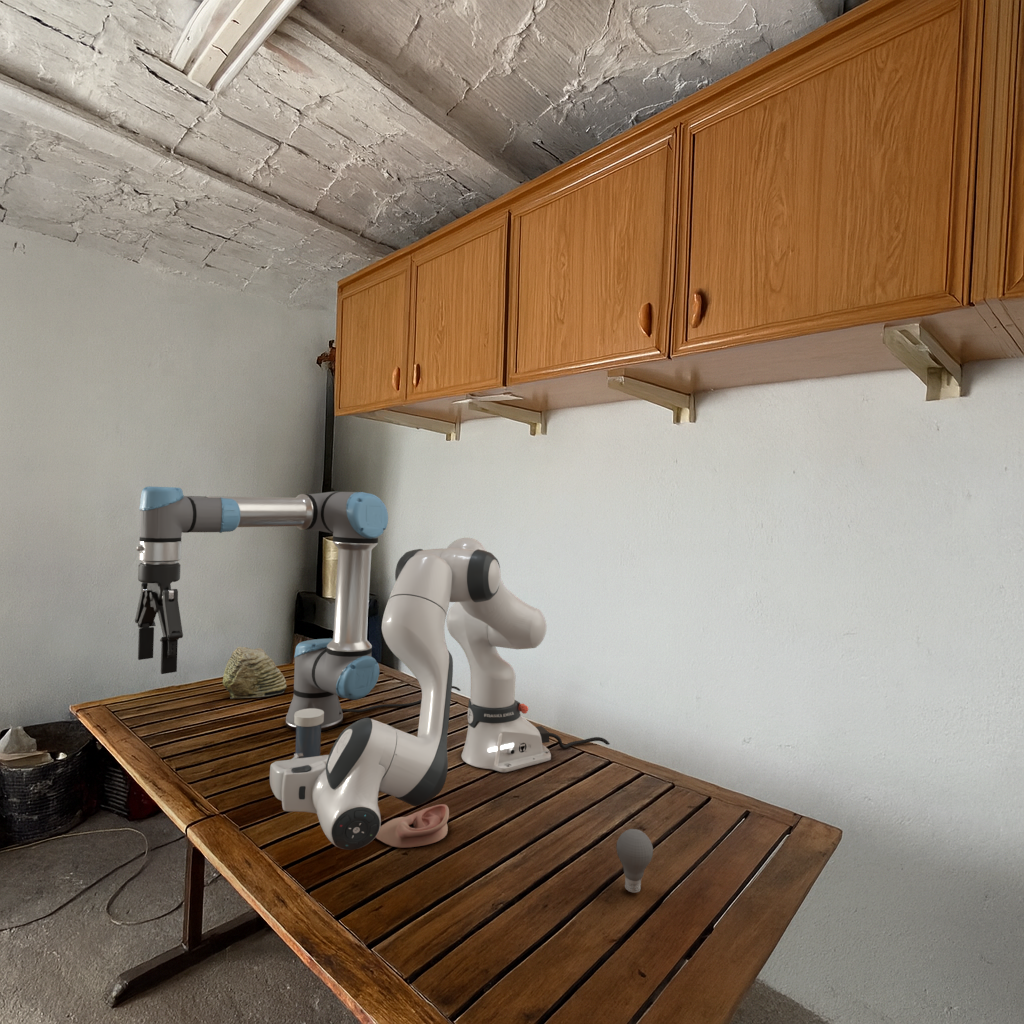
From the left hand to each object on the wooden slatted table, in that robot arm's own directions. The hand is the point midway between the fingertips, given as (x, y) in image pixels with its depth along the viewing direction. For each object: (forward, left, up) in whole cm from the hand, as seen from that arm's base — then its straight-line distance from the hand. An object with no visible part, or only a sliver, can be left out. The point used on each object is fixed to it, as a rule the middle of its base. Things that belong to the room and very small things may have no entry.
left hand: (156, 665), depth 130 cm
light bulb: (-40, +89, -27) cm, 101 cm away
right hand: (-16, +36, -12) cm, 41 cm away
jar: (-25, +17, -27) cm, 41 cm away
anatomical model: (-27, +49, -27) cm, 62 cm away
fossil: (-49, -47, -27) cm, 73 cm away
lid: (-25, +17, -12) cm, 32 cm away
